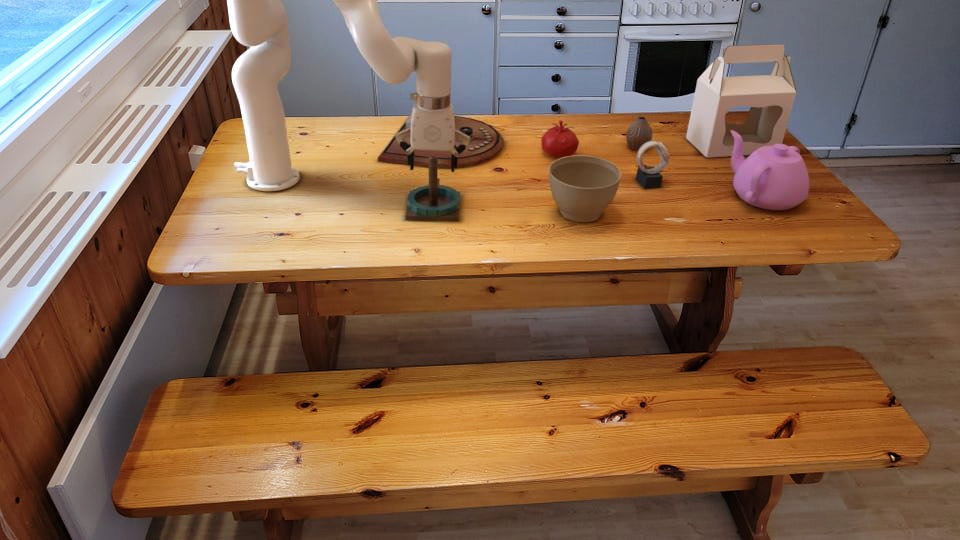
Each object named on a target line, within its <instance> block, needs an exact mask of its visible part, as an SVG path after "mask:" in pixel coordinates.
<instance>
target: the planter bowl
mask: <svg viewBox="0 0 960 540" xmlns="http://www.w3.org/2000/svg"><path fill="white" fill-rule="evenodd" d="M548 175H549V176H548V178H549V179H548V182H549V190H550V194H551V196H552V198H553V201H554V202H555V204H556V205H557V207H558V208H559V212H560V214H561V216H562V217H563V218H565V219H567V220H570V221H572V222H578V223H591V222H594V221H596V220H598V219H599V218H600V217H601V216H602V213H603V212H604V211H605V210H606V209H607V208H608V207H609V206H610V205H611V203H612V202H613V200H614V199H615V196H616V195H617V192H618V189H619V185H620V182H621V180H622V171H621V169H620V168H619V167H618V165H616V164H615V163H614V162H611V161H609V160H607V159H605V158H601V157H598V156H592V155H586V154H577V155H574V154H573V155H571V156H566V157H562V158H556V160H554V161H552V162H551V163H550V165H549V166H548Z"/></svg>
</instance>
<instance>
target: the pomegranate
mask: <svg viewBox="0 0 960 540" xmlns="http://www.w3.org/2000/svg"><path fill="white" fill-rule="evenodd" d="M558 123H559V125H558V124H557V123H551V124H552V125H553V127H550V128H548V129H546V130H547V131H546V132H544V133H543V135H542V136H541V139H540V141H541V149H542V152H543V153H544V154H546V155H548V156H550V157H553V158H556V159H559V158H562V157H566V156H573V155H574V154H575V153H576V152H577V151H578V148H579V145H580V141H579V138H578V137H577V135H576V133H575V132H574V131H573V130H571V128H572V129H575V127H574V126H568V124H567V123H564V121H563V120H561V119H560V120H559V121H558ZM565 126H566V127H565ZM567 126H568V127H567Z"/></svg>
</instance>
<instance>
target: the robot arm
mask: <svg viewBox="0 0 960 540" xmlns="http://www.w3.org/2000/svg"><path fill="white" fill-rule="evenodd" d="M331 1H332V2H333V3H334V5H335V6H336V8H337V9H338V10H339V12H340V14H341V15H342V16H343V20H344V22H345V25H346V27H347V29H348V31H349V34H350V36H351V38H352V40H353V42H354V44H355V46H356V48H357V50H358V51H359V53H360V54H361V56H362V58H363V59H364V60H365V61H366V62H367V64H368V66H370V68H371V69H372V70H373V72H374V73H375V74H376V75H377V76H378V77H379V78H380V79H381V80H382V81H384V82H385V83H387V84H389V85H400V84H402V83H405V82H406V81H407V80H408V79H409V77H410V76H411V75H412V73H413V72H415V73H416V91H415V92H413V93H410V95H409V100H413V101H415V102H414V103H413V106H412V111H411V113H412V117H411V127H409V128H407V129H405V130H402V131H400V132H398V131H397V132H398V133H397V132H395V134H396V135H395V134H394V135H395V138H396V139H397V141H398V143H399V144H400V147H401V148H402V149H403V150H404V151H405V152H406V154H407V157H408V165H407V166H409V167H410V168H409V170H410V171H413V170H414V168H415V166H414V150H415V149H419V150H436V151H449V150H450V152H451V153H452V157H451V168H450V172H451V173H455V169H458V168H457V161H458V156H459V154H460V153H462V152H463V151H464V150H465V149H466V147H467V145H468V144H469V142H470V137H469V136H468V135H466V134H464V133H462V132H460V131H458V130H457V129H455V117H454V116H455V109H454V104H452V103H451V93H452V92H451V86H452V84H451V83H452V49H451V47H450V45H448V44H447V43H445V42H441V41H436V40H435V41H431V40H429V41H425V40H424V41H423V40H420V39H415V38H412V37H407V36H395V37H393V38H392V37H391V35H390V33H389V32H388V30H387V28H386V27H385V25H384V23H383V20H382V17H381V14H380V10H379V4H378V0H331ZM226 4H227V11H228V19H229V27H230V31H231V33H232V35H233V37H234V39H235V40H236V41H237V42H238V43H239V44H241V46H245V47H249V48H248V49H246V51H244V52H243V53H242V54H241V55H239V56H238V58H237V59H236V60H235V62H234V64H233V66H232V69H231V80H232V85H233V89H234V91H235V94H236V97H237V100H238V104H239V108H240V112H241V119H242V123H243V128H244V135H245V141H246V147H247V152H248V156H249V158H248V159H249V161H247V162H239V161H238V162H237V161H235V162H234V164H233V169H234V171H236V174H237V175H243V174H244V175H246V176H245V177H246V178H245V180H246V184H247V185H248V187H249V188H251V189H253V190H256V191H259V192H277V191H282V190H286V189H290V188H291V187H293V186H295V185H296V184H297V183H299V181H300V172H299V170H298V169H297V168H295V167H293V166H292V157H291V151H290V150H291V149H290V144H289V136H288V128H287V122H286V121H287V120H286V115H285V109H284V104H283V102H282V98H281V96H280V93H279V88H278V86H279V83H280V82H281V81H282V80H283V79H284V78H285V77H286V76H287V74H288V73H289V71H290V69H291V64H292V55H291V45H290V32H289V22H288V21H289V20H288V16H287V11H286V9H285V6H284V4H283V2H282V1H281V0H226ZM408 135H410V141H411V143H410V144H408V143H407V142H406V141H405V140H404V139H403V137H405V136H408ZM455 137H457V138H459V139H461V140H462V141H463V142H462V143H461V144H460V145H459V146H458V147H457V146H456V145H455ZM454 167H456V168H454Z"/></svg>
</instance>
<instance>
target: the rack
mask: <svg viewBox="0 0 960 540" xmlns="http://www.w3.org/2000/svg"><path fill="white" fill-rule="evenodd" d="M428 162H429V167H428V185H429V194H427V195H423V196H420V197H418V198H417V199H416V200H415V201H416V202H417V203H419V204H421V205H424V206H428V207H439V206H444V205H446V204H449V203H451V202H452V201H453V200H452V199H451V198H450V197H448V196H446V195H441V194H438V178H439V177H438V176H439V175H438V169H439V168H438V165H437V157H436V156H435V155H431V156H430V157H429V159H428ZM411 191H412V190H409V193H410V192H411ZM457 192H458V193H459V194H460V195H461V191H457ZM409 193H408V194H409ZM404 217H405V219H404V220H405V221H433V222H460V207H459V208H458V209H457V210H456V211H455V212H452V213H450V214H447V215H442V216H438V215H437V216H428V215H427V216H424V215H420V214H418V213H415V212H413V211H412V210H410V208H409V207H408V205H406V210H405V214H404Z"/></svg>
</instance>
